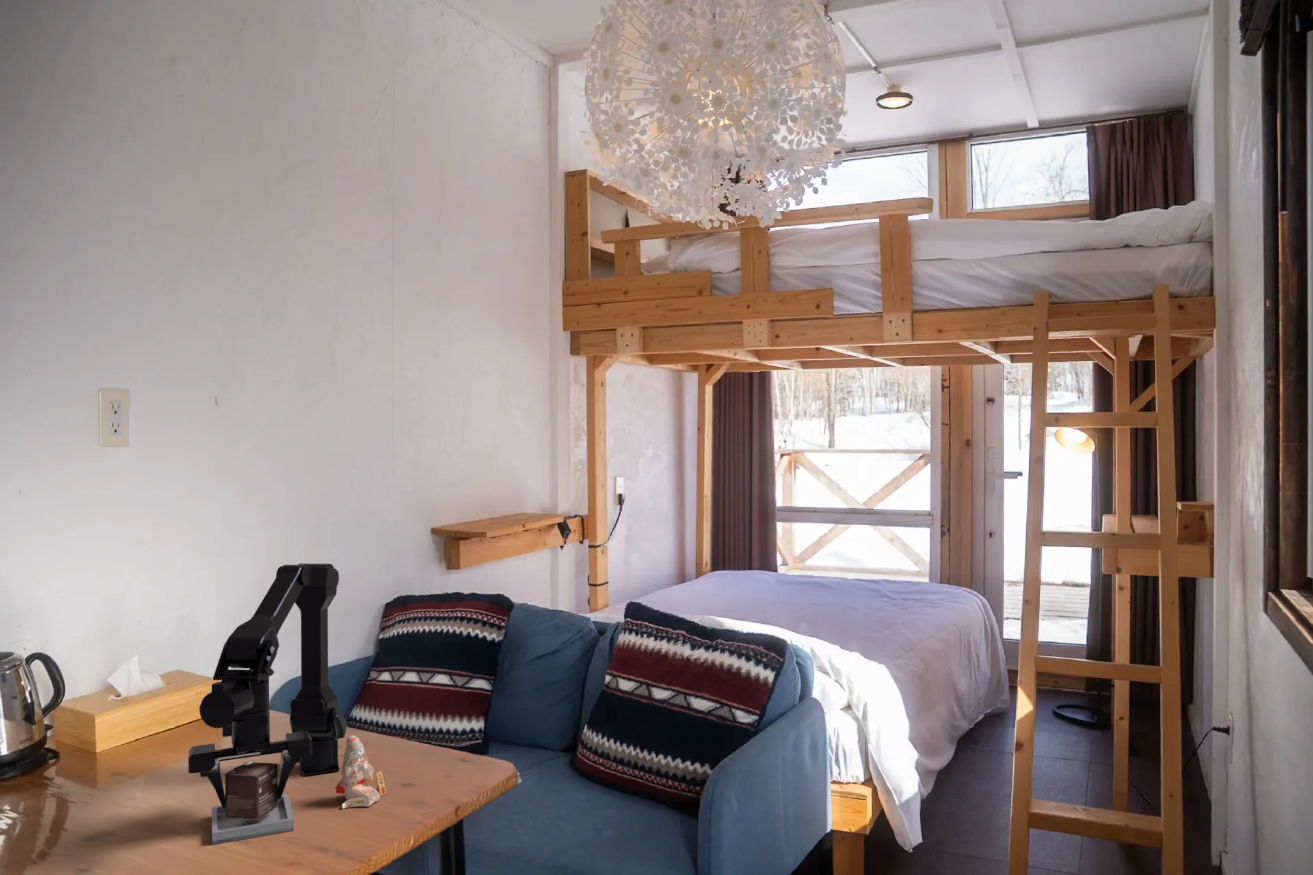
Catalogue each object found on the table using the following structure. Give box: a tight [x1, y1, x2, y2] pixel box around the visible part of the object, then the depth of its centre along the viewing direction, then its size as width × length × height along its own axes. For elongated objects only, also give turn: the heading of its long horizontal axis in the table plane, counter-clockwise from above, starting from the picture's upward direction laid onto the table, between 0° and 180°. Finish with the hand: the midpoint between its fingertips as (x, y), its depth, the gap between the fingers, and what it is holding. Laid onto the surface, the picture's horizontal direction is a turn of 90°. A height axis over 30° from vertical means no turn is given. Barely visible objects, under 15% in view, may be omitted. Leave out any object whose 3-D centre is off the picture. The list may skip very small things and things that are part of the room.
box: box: [224, 761, 279, 820], centre depth 158 cm, size 6×6×7 cm
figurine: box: [334, 735, 387, 809], centre depth 167 cm, size 9×7×12 cm
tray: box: [211, 793, 295, 846], centre depth 158 cm, size 12×12×2 cm
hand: (252, 802), depth 158 cm, fingers closed on box, 8 cm apart
